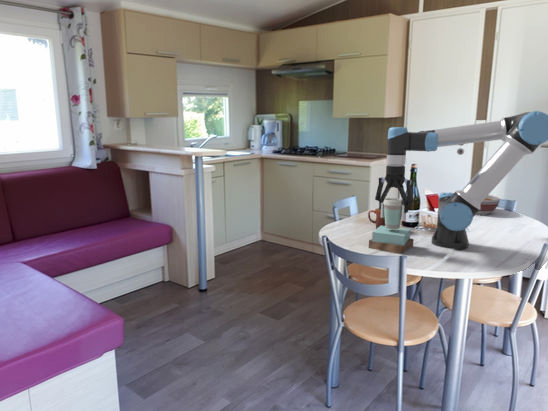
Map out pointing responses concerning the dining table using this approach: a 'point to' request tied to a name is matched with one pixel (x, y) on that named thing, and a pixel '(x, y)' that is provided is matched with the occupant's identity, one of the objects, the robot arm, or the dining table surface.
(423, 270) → the dining table surface
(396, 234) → the tower top
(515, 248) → the dining table surface
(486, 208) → the bowl
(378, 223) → the mug
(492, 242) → the dining table surface
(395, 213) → the coffee cup
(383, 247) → the tower base
